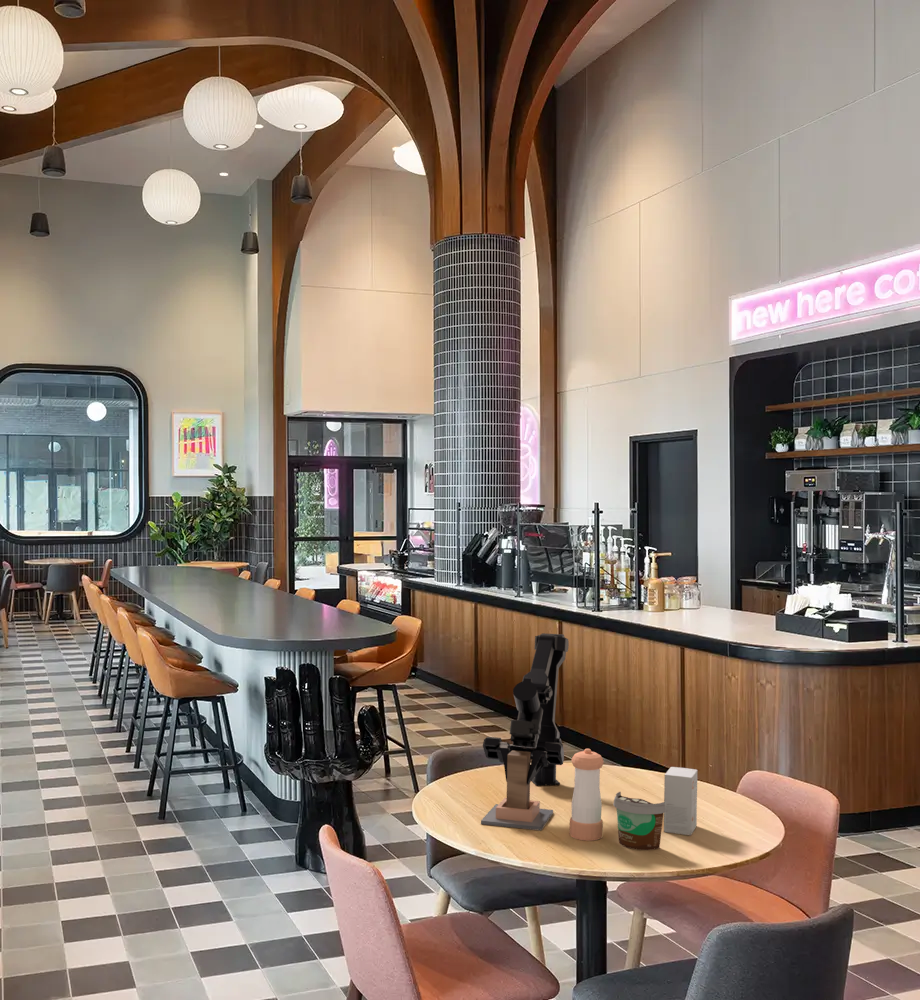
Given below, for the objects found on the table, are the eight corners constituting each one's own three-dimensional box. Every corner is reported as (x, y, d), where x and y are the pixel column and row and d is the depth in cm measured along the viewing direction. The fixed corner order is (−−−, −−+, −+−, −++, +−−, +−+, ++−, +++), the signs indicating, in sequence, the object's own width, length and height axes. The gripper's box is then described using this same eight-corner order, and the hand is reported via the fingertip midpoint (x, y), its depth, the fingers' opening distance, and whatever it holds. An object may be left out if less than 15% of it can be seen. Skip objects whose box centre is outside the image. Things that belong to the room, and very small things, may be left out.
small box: (669, 822, 243) (670, 766, 243) (697, 825, 241) (698, 769, 241) (662, 832, 236) (663, 774, 236) (691, 836, 234) (692, 777, 234)
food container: (601, 842, 228) (602, 796, 228) (617, 836, 232) (618, 790, 232) (649, 856, 219) (650, 808, 219) (665, 849, 224) (666, 802, 224)
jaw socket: (495, 807, 252) (496, 793, 252) (553, 813, 248) (553, 799, 248) (480, 824, 239) (481, 809, 239) (541, 830, 235) (541, 815, 235)
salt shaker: (596, 829, 236) (598, 744, 236) (606, 840, 229) (608, 752, 229) (565, 830, 235) (567, 745, 235) (574, 841, 228) (576, 753, 228)
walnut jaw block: (510, 805, 246) (511, 750, 246) (529, 807, 245) (530, 752, 245) (506, 811, 242) (507, 754, 242) (525, 813, 241) (526, 756, 241)
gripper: (485, 702, 250) (472, 759, 239) (562, 708, 245) (553, 767, 234) (492, 729, 258) (480, 785, 247) (568, 735, 253) (558, 793, 242)
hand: (517, 782), depth 242 cm, fingers closed on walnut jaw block, 4 cm apart
